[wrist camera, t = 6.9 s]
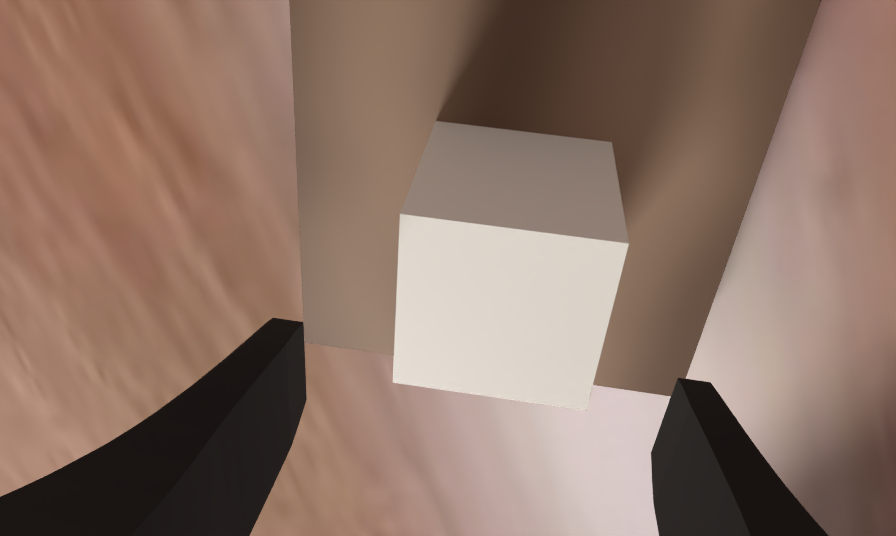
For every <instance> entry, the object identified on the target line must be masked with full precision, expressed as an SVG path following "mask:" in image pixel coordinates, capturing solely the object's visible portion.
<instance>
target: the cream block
mask: <svg viewBox="0 0 896 536" xmlns="http://www.w3.org/2000/svg"><path fill="white" fill-rule="evenodd" d="M628 246H629V241H628V235H627V229H626V223H625V217H624V211H623V205H622V199H621V193H620V187H619V181H618V176H617V170H616V164H615V158H614V152H613V146H612V142H606V141H598V140H590V139H582V138H573V137H565V136H557V135H548V134H540V133H532V132H524V131H515V130H507V129H499V128H490V127H482V126H474V125H466V124H457V123H449V122H441V121H436V122H435V124H434V127H433V130H432V132H431V135H430V137H429V140H428V142H427V145H426V148H425V150H424V153H423V155H422V158H421V161H420V163H419V166H418V168H417V171H416V174H415V176H414V179H413V181H412V184H411V186H410V189H409V192H408V194H407V197H406V199H405V202H404V205H403V207H402V210H401V212H400V223H399V246H398V270H397V293H396V317H395V340H394V364H393V383H400V384H407V385H413V386H420V387H427V388H434V389H441V390H448V391H455V392H461V393H468V394H475V395H482V396H489V397H496V398H503V399H509V400H516V401H523V402H530V403H537V404H544V405H551V406H557V407H564V408H571V409H578V410H585V411H586V410H587V406H588V402H589V398H590V394H591V390H592V386H593V382H594V378H595V374H596V371H597V367H598V363H599V359H600V355H601V351H602V347H603V343H604V339H605V335H606V332H607V328H608V324H609V320H610V316H611V312H612V308H613V304H614V300H615V296H616V292H617V289H618V285H619V281H620V277H621V273H622V269H623V265H624V261H625V257H626V253H627V250H628Z"/></svg>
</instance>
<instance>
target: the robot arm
mask: <svg viewBox="0 0 896 536" xmlns="http://www.w3.org/2000/svg"><path fill="white" fill-rule="evenodd" d="M305 402H306V376H305V351H304V326H303V322H298V321H291V320H284V319H277V318H272V319H271V320H269V321H268V322H267V323H266V324H264V325H263V326H262V327H261V328H260V329H259V330H257V331H256V332H255V333H254V334H253V335H252V336H251V337H249V338H248V339H247V340H246V341H245V342H244V343H243V344H241V345H240V346H239V347H238V348H237V349H236V350H234V351H233V352H232V353H231V354H230V355H229V356H227V357H226V358H225V359H224V360H223V361H222V362H220V363H219V364H218V365H217V366H215V367H214V368H213V369H212V370H210V371H209V372H208V373H207V374H206V375H204V376H203V377H202V378H201V379H199V380H198V381H197V382H196V383H194V384H193V385H192V386H191V387H189V388H188V389H187V390H185V391H184V392H183V393H181V394H180V395H178V396H177V397H176V398H174V399H173V400H172V401H170V402H169V403H168V404H166V405H165V406H164V407H162V408H161V409H159V410H158V411H157V412H155V413H154V414H152V415H151V416H149V417H148V418H146V419H145V420H144V421H142V422H141V423H139V424H137V425H136V426H134V427H133V428H131V429H130V430H128V431H127V432H125V433H123V434H122V435H120V436H119V437H117V438H115V439H114V440H112V441H110V442H109V443H107V444H105V445H104V446H102V447H100V448H98V449H96V450H94V451H93V452H91V453H89V454H87V455H85V456H83V457H81V458H79V459H78V460H76V461H74V462H72V463H70V464H68V465H66V466H64V467H63V468H61V469H59V470H57V471H55V472H53V473H51V474H49V475H47V476H45V477H43V478H41V479H39V480H36V481H34V482H32V483H30V484H28V485H26V486H24V487H22V488H19V489H17V490H15V491H13V492H10V493H8V494H6V495H3V496H1V497H0V536H249V535H250V533H251V531H252V529H253V527H254V525H255V523H256V521H257V519H258V516H259V514H260V512H261V510H262V508H263V506H264V504H265V502H266V499H267V497H268V495H269V493H270V491H271V489H272V487H273V485H274V482H275V480H276V478H277V476H278V474H279V472H280V470H281V467H282V465H283V463H284V461H285V459H286V457H287V454H288V452H289V450H290V448H291V446H292V443H293V440H294V437H295V434H296V431H297V428H298V425H299V422H300V418H301V415H302V412H303V409H304V406H305ZM651 461H652V484H653V500H654V508H655V514H656V520H657V525H658V531H659V536H828V535H827V534H826V532H825V531H824V530H823V529H822V528H821V527H820V526H819V525H818V524H817V522H816V521H815V520H814V519H813V518H812V517H811V516H810V514H809V513H808V512H807V511H806V510H805V508H804V507H803V506H802V505H801V504H800V502H799V501H798V500H797V499H796V498H795V497H794V495H793V494H792V493H791V492H790V491H789V489H788V488H787V487H786V486H785V484H784V483H783V482H782V481H781V479H780V478H779V477H778V475H777V474H776V473H775V471H774V470H773V469H772V467H771V466H770V465H769V463H768V462H767V461H766V460H765V458H764V457H763V456H762V454H761V453H760V452H759V450H758V449H757V447H756V446H755V445H754V443H753V442H752V441H751V439H750V438H749V436H748V435H747V433H746V432H745V431H744V429H743V428H742V426H741V425H740V424H739V422H738V421H737V419H736V418H735V416H734V415H733V414H732V412H731V411H730V409H729V408H728V406H727V405H726V403H725V402H724V401H723V399H722V398H721V396H720V395H719V393H718V392H717V391H716V389H715V388H714V386H713V385H712V384H711V383H710V382H704V381H697V380H690V379H683V378H677V381H676V384H675V387H674V390H673V393H672V395H671V398H670V401H669V404H668V407H667V409H666V412H665V415H664V418H663V421H662V424H661V426H660V429H659V432H658V435H657V438H656V441H655V443H654V446H653V449H652V452H651Z"/></svg>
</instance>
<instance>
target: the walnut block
mask: <svg viewBox="0 0 896 536" xmlns="http://www.w3.org/2000/svg"><path fill="white" fill-rule="evenodd" d="M289 1H290V23H291V46H292V69H293V92H294V115H295V137H296V160H297V183H298V206H299V228H300V251H301V274H302V297H303V320H304V342H305V343H311V344H318V345H325V346H332V347H339V348H346V349H352V350H359V351H366V352H373V353H380V354H387V355H393V356H394V340H395V317H396V293H397V270H398V246H399V223H400V212H401V210H402V207H403V205H404V202H405V199H406V197H407V194H408V192H409V189H410V186H411V184H412V181H413V179H414V176H415V174H416V171H417V168H418V166H419V163H420V161H421V158H422V155H423V153H424V150H425V148H426V145H427V142H428V140H429V137H430V135H431V132H432V130H433V127H434V124H435V122H436V121H441V122H449V123H457V124H466V125H474V126H482V127H490V128H499V129H507V130H515V131H524V132H532V133H540V134H548V135H557V136H565V137H573V138H582V139H590V140H598V141H606V142H612V146H613V152H614V158H615V164H616V170H617V176H618V181H619V187H620V193H621V199H622V205H623V211H624V217H625V223H626V229H627V235H628V241H629V246H628V250H627V253H626V257H625V261H624V265H623V269H622V273H621V277H620V281H619V285H618V289H617V292H616V296H615V300H614V304H613V308H612V312H611V316H610V320H609V324H608V328H607V332H606V335H605V339H604V343H603V347H602V351H601V355H600V359H599V363H598V367H597V371H596V374H595V378H594V382H593V385H598V386H605V387H612V388H618V389H625V390H632V391H639V392H646V393H653V394H659V395H666V396H671V395H672V393H673V390H674V387H675V384H676V381H677V378H683V379H685V378H686V376H687V373H688V370H689V367H690V364H691V362H692V359H693V356H694V353H695V351H696V348H697V345H698V342H699V339H700V337H701V334H702V331H703V328H704V325H705V323H706V320H707V317H708V314H709V311H710V309H711V306H712V303H713V300H714V298H715V295H716V292H717V289H718V286H719V284H720V281H721V278H722V275H723V272H724V270H725V267H726V264H727V261H728V258H729V256H730V253H731V250H732V247H733V245H734V242H735V239H736V236H737V233H738V231H739V228H740V225H741V222H742V219H743V217H744V214H745V211H746V208H747V206H748V203H749V200H750V197H751V194H752V192H753V189H754V186H755V183H756V180H757V178H758V175H759V172H760V169H761V166H762V164H763V161H764V158H765V155H766V153H767V150H768V147H769V144H770V141H771V139H772V136H773V133H774V130H775V127H776V125H777V122H778V119H779V116H780V113H781V111H782V108H783V105H784V102H785V100H786V97H787V94H788V91H789V88H790V86H791V83H792V80H793V77H794V74H795V72H796V69H797V66H798V63H799V60H800V58H801V55H802V52H803V49H804V47H805V44H806V41H807V38H808V35H809V33H810V30H811V27H812V24H813V21H814V19H815V16H816V13H817V10H818V7H819V5H820V2H821V0H289Z"/></svg>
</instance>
